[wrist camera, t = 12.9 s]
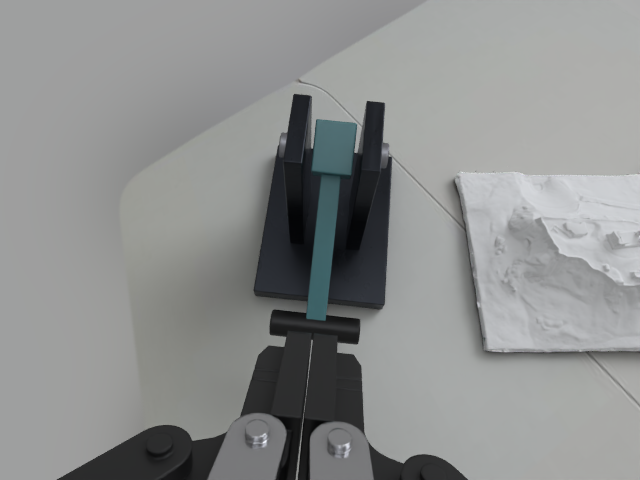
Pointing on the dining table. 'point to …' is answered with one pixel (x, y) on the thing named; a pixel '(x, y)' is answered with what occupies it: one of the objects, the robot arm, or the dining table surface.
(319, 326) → the switch lever
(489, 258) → the terrain model
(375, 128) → the switch bracket
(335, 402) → the robot arm
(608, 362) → the dining table surface
